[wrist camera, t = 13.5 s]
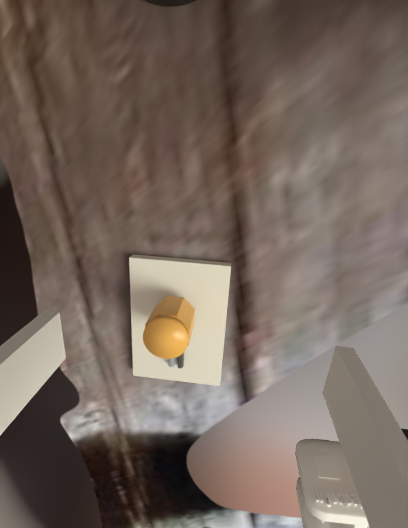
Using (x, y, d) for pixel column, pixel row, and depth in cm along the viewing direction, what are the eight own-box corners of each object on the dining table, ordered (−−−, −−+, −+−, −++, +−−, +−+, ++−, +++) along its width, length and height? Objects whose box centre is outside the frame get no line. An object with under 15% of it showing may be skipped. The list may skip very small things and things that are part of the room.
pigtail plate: (132, 254, 41) (107, 276, 33) (231, 262, 40) (229, 287, 32) (136, 369, 47) (116, 410, 39) (220, 379, 46) (217, 423, 38)
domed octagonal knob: (156, 294, 39) (142, 317, 33) (195, 298, 38) (188, 321, 32) (156, 329, 40) (143, 356, 35) (194, 333, 40) (187, 361, 34)
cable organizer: (288, 475, 52) (302, 559, 41) (294, 432, 48) (311, 510, 37) (376, 484, 50) (415, 573, 39) (388, 439, 47) (434, 523, 36)
